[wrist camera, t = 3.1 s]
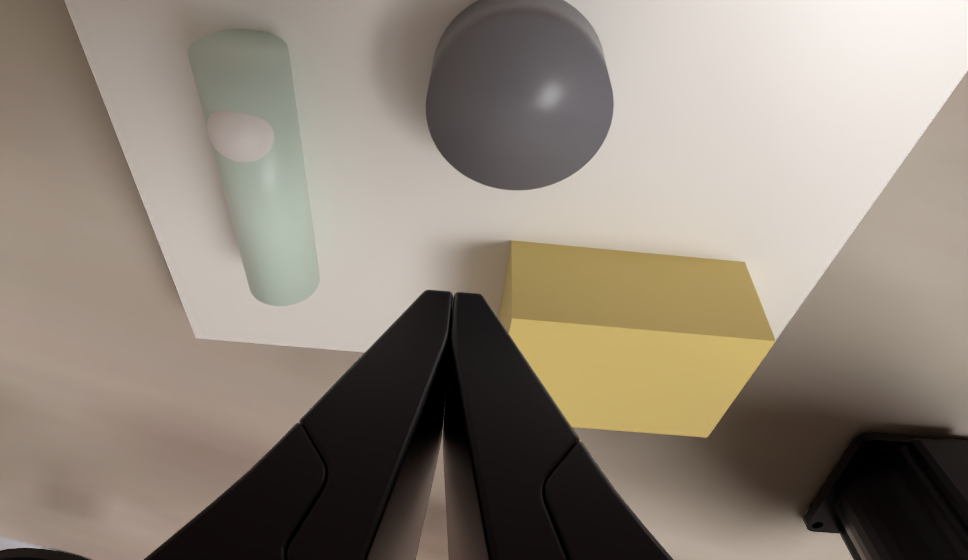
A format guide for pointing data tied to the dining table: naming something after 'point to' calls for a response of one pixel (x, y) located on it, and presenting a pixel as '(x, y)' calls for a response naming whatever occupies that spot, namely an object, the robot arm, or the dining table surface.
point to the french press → (36, 554)
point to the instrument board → (654, 183)
